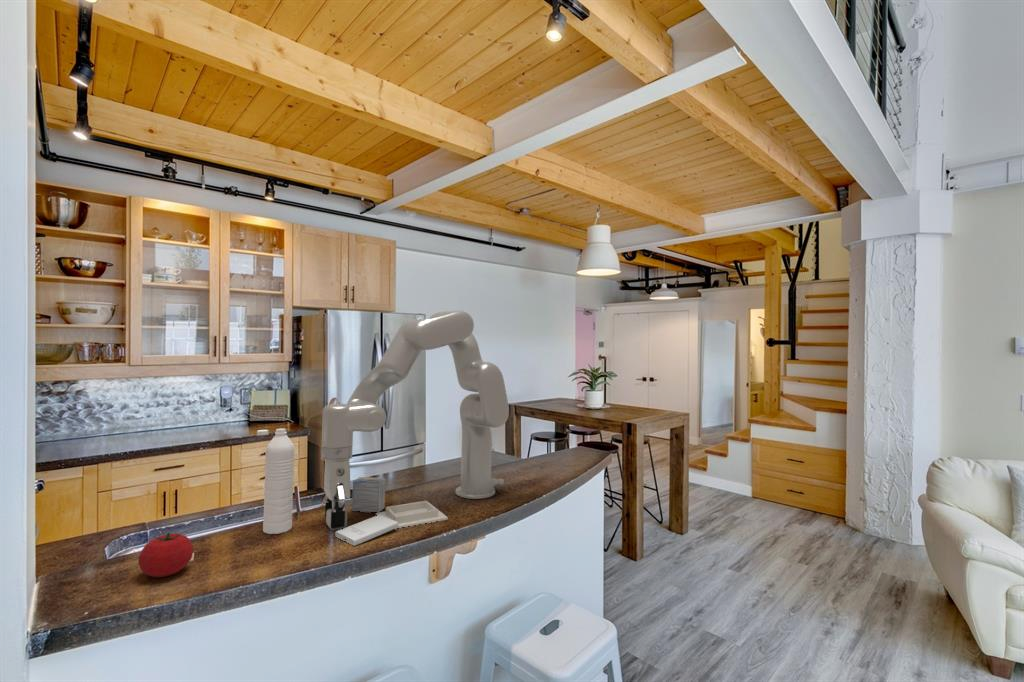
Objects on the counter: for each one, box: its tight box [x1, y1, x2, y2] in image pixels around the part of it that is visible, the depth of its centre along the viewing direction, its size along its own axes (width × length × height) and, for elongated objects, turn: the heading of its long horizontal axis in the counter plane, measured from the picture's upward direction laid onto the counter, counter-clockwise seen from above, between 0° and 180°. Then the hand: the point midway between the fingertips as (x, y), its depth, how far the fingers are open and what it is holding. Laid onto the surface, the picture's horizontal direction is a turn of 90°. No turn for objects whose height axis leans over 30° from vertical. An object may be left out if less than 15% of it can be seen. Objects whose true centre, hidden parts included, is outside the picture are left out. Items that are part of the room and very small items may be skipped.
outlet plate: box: [375, 500, 449, 530], centre depth 126 cm, size 16×12×2 cm
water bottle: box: [256, 427, 296, 535], centre depth 115 cm, size 9×6×25 cm
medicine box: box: [351, 476, 386, 513], centre depth 131 cm, size 8×4×9 cm, turn 84°
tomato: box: [137, 532, 194, 578], centre depth 93 cm, size 9×9×8 cm
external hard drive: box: [334, 515, 398, 547], centre depth 114 cm, size 2×8×12 cm
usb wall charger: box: [325, 509, 348, 531], centre depth 120 cm, size 4×7×4 cm, turn 35°
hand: (334, 521), depth 120 cm, fingers closed on usb wall charger, 7 cm apart
